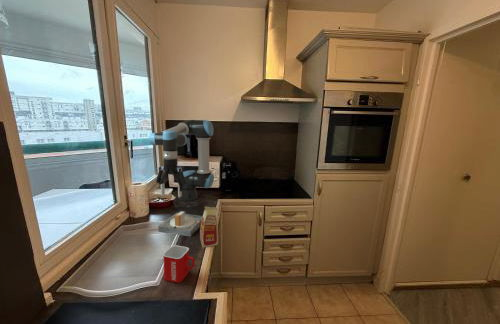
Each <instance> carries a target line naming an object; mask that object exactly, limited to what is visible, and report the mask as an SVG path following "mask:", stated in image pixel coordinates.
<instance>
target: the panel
mask: <svg viewBox="0 0 500 324" xmlns="http://www.w3.org/2000/svg"><path fill="white" fill-rule="evenodd" d="M178 213H179V212H176V213H175V214H173V215H172V216H170V217H168V218H167V219H165V220H164V221H163V222H162V223H160V224H159V225H158V226H157V229H158V233H164V234H165V233H166V234H170V235H177V234H178V235H177V236H184V237H192V236H193V235H194V234H195V233H196V232H197V231H198V229H200V227H201V220H202V217H203V215H199V214H197V215H196V214H191V213H185V216H192V217H194V218H195V219H196V222H195V224H194V225H193V226H192V227H189V228H178V227H176V226H175V227H171V226H170V221H171V220H172V219H173V218H175V215H177V214H178Z"/></svg>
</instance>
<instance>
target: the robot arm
mask: <svg viewBox="0 0 500 324" xmlns="http://www.w3.org/2000/svg"><path fill="white" fill-rule="evenodd" d="M214 133H215V132H214V126H213V123H212V121H210V120H206V119H188V120H185V121H182V122H179V123H178V124H177V125H175V126H174V127H170V128H168V129H165V130H163V131H160V132H151V133H150V134H149V135H148V142H149V144H150V145H153V146H162V148H163V149H162V151H163V161H162V162H163V165H161V166H159V167H158V171H157V172H158V173H157V177H156V180H155V182H156V183H157V184H159V190H160V196H163V195H165V194H166V192H165V191H166V189H165V185H166V184H165V183H164V182H165V180H166V178H167V176H168V175H172V176H173V177H174V179H175V180H176V182H177V184H178V186H177V195H178V196H177V197H178V199H179V201H182V202H192V200H193V201H195V200H198V198H199V196H198V193H197V190H196V188H203V189H208V188H211V187H212V186H213V183H214V180H215V176H214V173H212V170H211V169H210V140H211V139H212V136H213V135H214ZM187 135H188V136H189V135H191V136H195V138H196V140H197V156H198V157H197V158H198V162H197V163H198V164H197V165H198V170H192V169H190V170H185V171H183V167H179V166H178V147H183V146H185V145H187V143H188V142H189V141H188V137H187Z"/></svg>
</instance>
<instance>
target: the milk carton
mask: <svg viewBox="0 0 500 324" xmlns="http://www.w3.org/2000/svg"><path fill="white" fill-rule="evenodd" d="M218 209H219V207H211V206H210V207H209V206H204V210H203V214H202V216H203V217H202V220H201V226H200V227H199V240H200V243H201V247H202V249H203V248H209V247H212V246H213V247H214V246H217V245H219V227H218V226H219V225H218V217H217V216H218V215H217V210H218Z"/></svg>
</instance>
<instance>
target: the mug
mask: <svg viewBox="0 0 500 324" xmlns="http://www.w3.org/2000/svg"><path fill="white" fill-rule="evenodd" d="M189 251H190V248H189V247H186V246H184V245H182V246H181V245H171V246H170V247H169V248H168V249H167V250H166V251H164V252H163V253H162V256H163V278H164V281H168V282H172V283H175V284H176V283H181V282H182V281H183V280H184V279H185V278H186V277H187V276H188V274H189V271H190V270H192V269H193V268H194V267H195V258H194V257H192V256H189ZM189 260H191V266H190V265H189V264H190V263H189Z"/></svg>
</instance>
